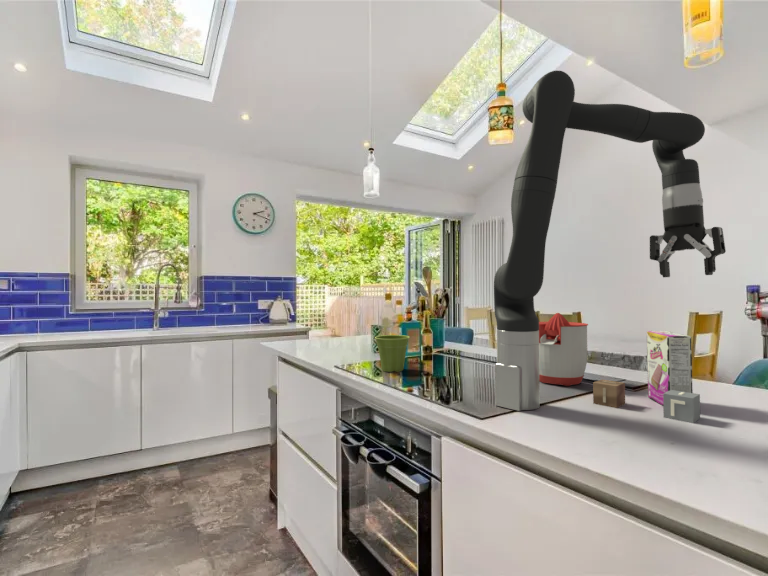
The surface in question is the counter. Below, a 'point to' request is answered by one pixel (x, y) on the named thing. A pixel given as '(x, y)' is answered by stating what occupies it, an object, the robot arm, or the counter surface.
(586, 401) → the counter surface
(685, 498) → the counter surface
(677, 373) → the candy bar box
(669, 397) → the slate digit cube
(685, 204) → the robot arm
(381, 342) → the plant pot
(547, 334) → the citrus juicer
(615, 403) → the walnut digit cube
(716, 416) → the counter surface
